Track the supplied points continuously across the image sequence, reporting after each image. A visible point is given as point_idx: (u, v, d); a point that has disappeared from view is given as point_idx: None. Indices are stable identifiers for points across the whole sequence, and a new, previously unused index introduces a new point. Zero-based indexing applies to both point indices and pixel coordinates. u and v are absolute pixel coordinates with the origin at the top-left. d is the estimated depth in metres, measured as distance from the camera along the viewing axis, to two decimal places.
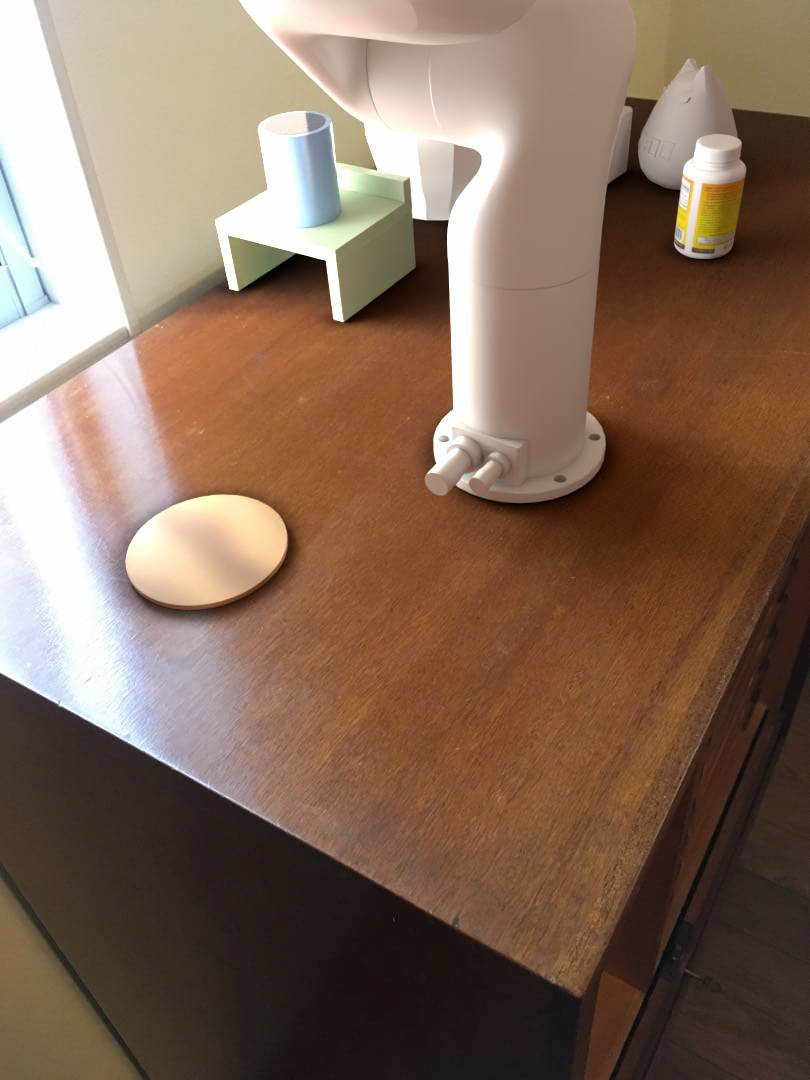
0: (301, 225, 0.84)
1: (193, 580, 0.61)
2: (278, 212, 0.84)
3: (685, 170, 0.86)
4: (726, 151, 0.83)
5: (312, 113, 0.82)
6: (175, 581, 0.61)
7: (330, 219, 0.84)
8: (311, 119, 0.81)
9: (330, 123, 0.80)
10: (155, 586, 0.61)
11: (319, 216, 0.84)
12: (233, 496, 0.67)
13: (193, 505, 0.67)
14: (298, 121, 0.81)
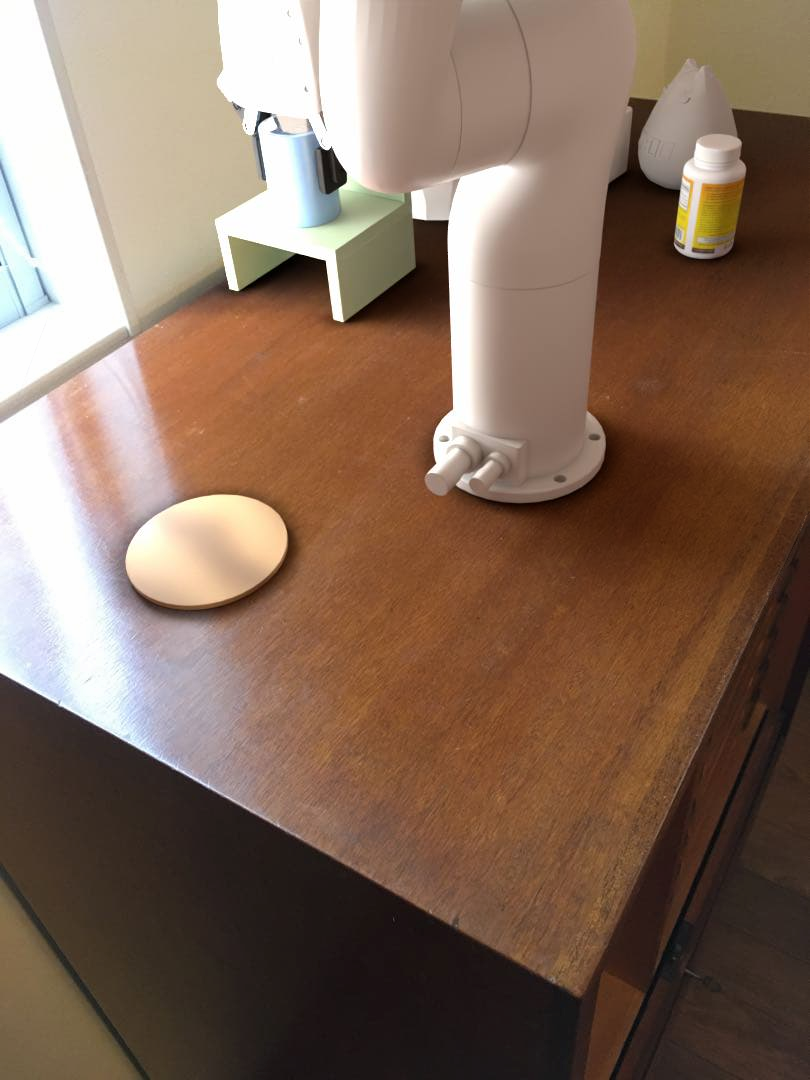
0: (301, 225, 0.84)
1: (193, 580, 0.61)
2: (278, 212, 0.84)
3: (685, 170, 0.86)
4: (726, 151, 0.83)
5: None
6: (175, 581, 0.61)
7: (330, 219, 0.84)
8: None
9: None
10: (155, 586, 0.61)
11: (319, 216, 0.84)
12: (233, 496, 0.67)
13: (193, 505, 0.67)
14: (298, 121, 0.81)
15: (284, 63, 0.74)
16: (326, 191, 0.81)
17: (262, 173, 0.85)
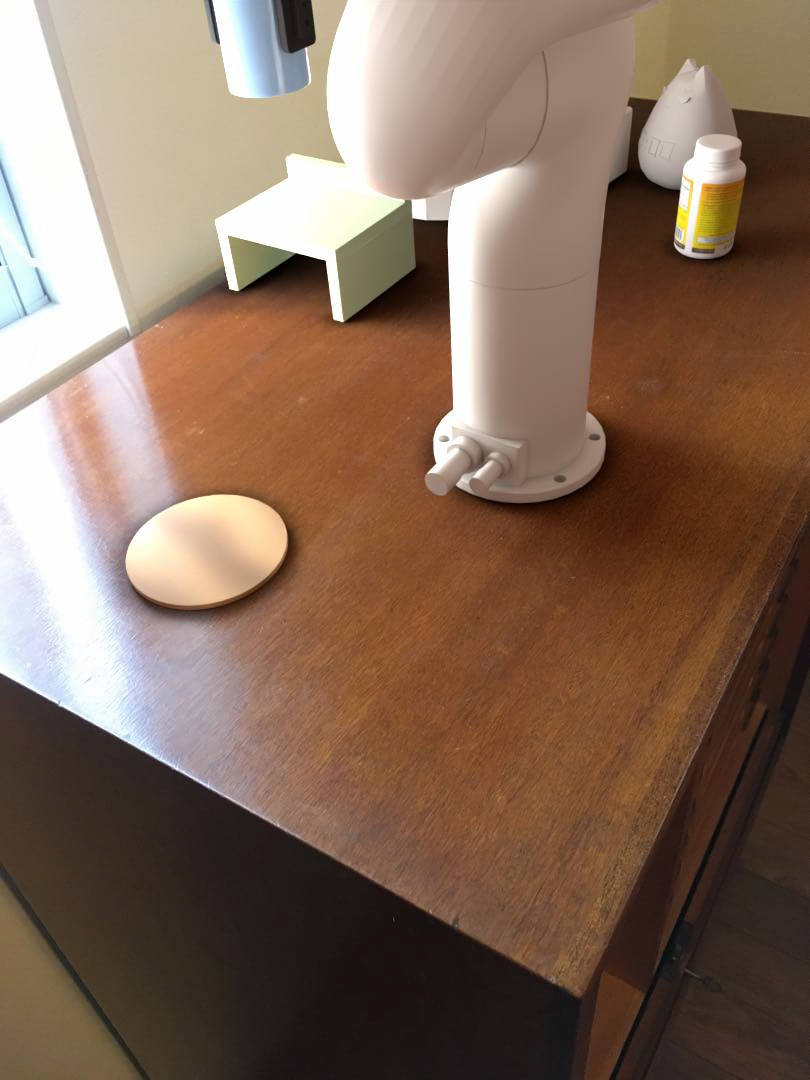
0: (261, 94, 0.70)
1: (193, 580, 0.61)
2: (233, 79, 0.70)
3: (685, 170, 0.86)
4: (726, 151, 0.83)
5: None
6: (175, 581, 0.61)
7: (296, 88, 0.71)
8: None
9: None
10: (155, 586, 0.61)
11: (283, 83, 0.70)
12: (233, 496, 0.67)
13: (193, 505, 0.67)
14: None
15: None
16: (289, 49, 0.68)
17: (215, 34, 0.71)
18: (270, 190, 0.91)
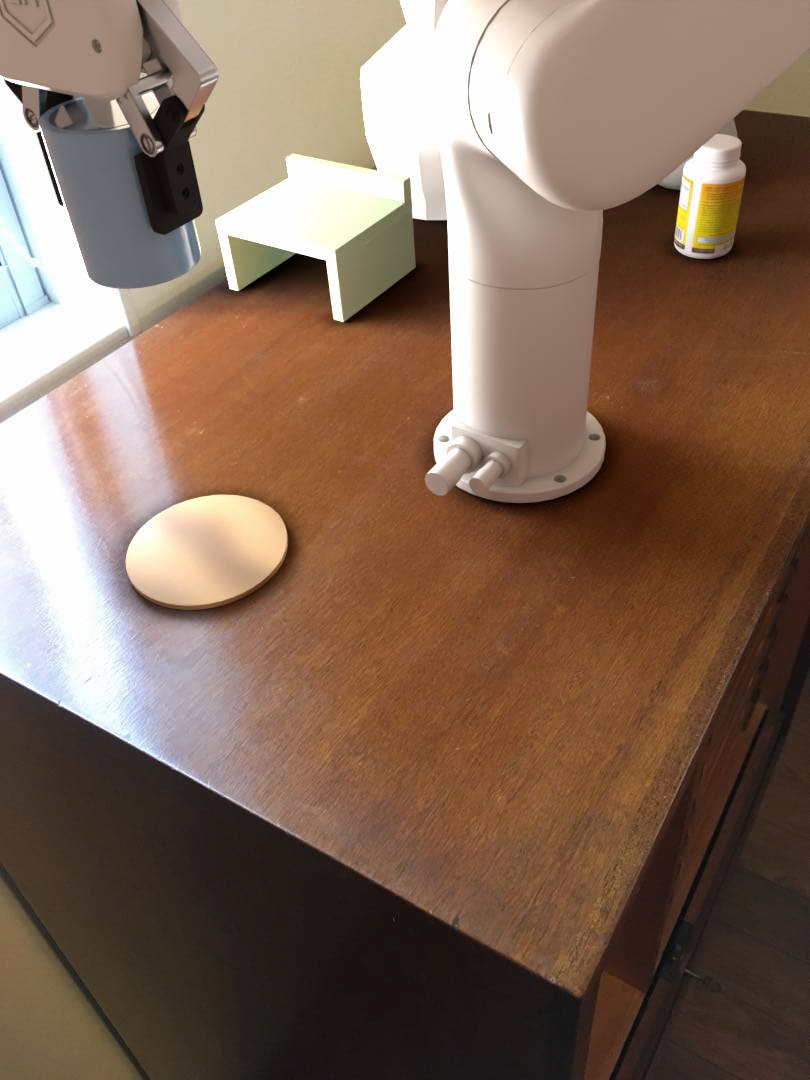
0: (125, 285, 0.49)
1: (193, 580, 0.61)
2: (86, 262, 0.49)
3: (685, 170, 0.86)
4: (726, 151, 0.83)
5: None
6: (175, 581, 0.61)
7: (176, 274, 0.50)
8: None
9: None
10: (155, 586, 0.61)
11: (155, 270, 0.49)
12: (233, 496, 0.67)
13: (193, 505, 0.67)
14: (111, 108, 0.47)
15: None
16: (161, 230, 0.47)
17: None
18: (270, 190, 0.91)
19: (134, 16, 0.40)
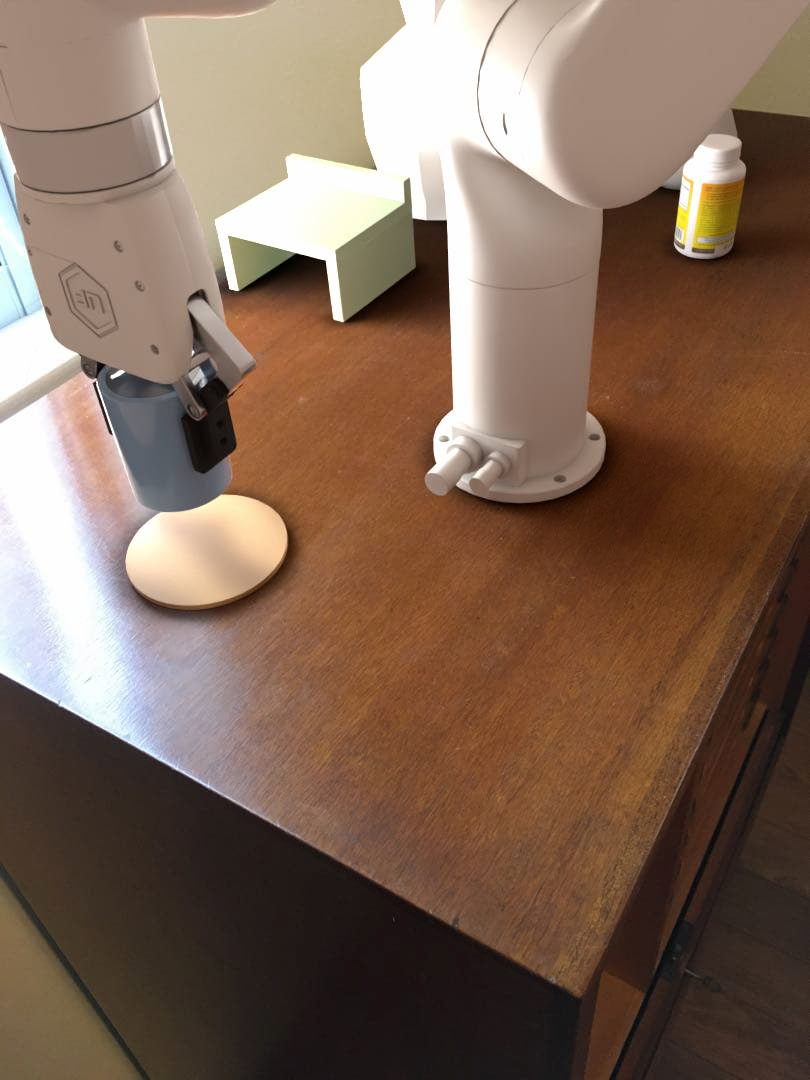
0: (168, 509, 0.57)
1: (193, 580, 0.61)
2: (134, 489, 0.57)
3: (685, 170, 0.86)
4: (726, 151, 0.83)
5: None
6: (175, 581, 0.61)
7: (213, 497, 0.57)
8: None
9: None
10: (155, 586, 0.61)
11: (195, 497, 0.56)
12: (233, 496, 0.67)
13: None
14: None
15: (118, 310, 0.47)
16: (202, 471, 0.54)
17: None
18: (270, 190, 0.91)
19: (186, 324, 0.48)
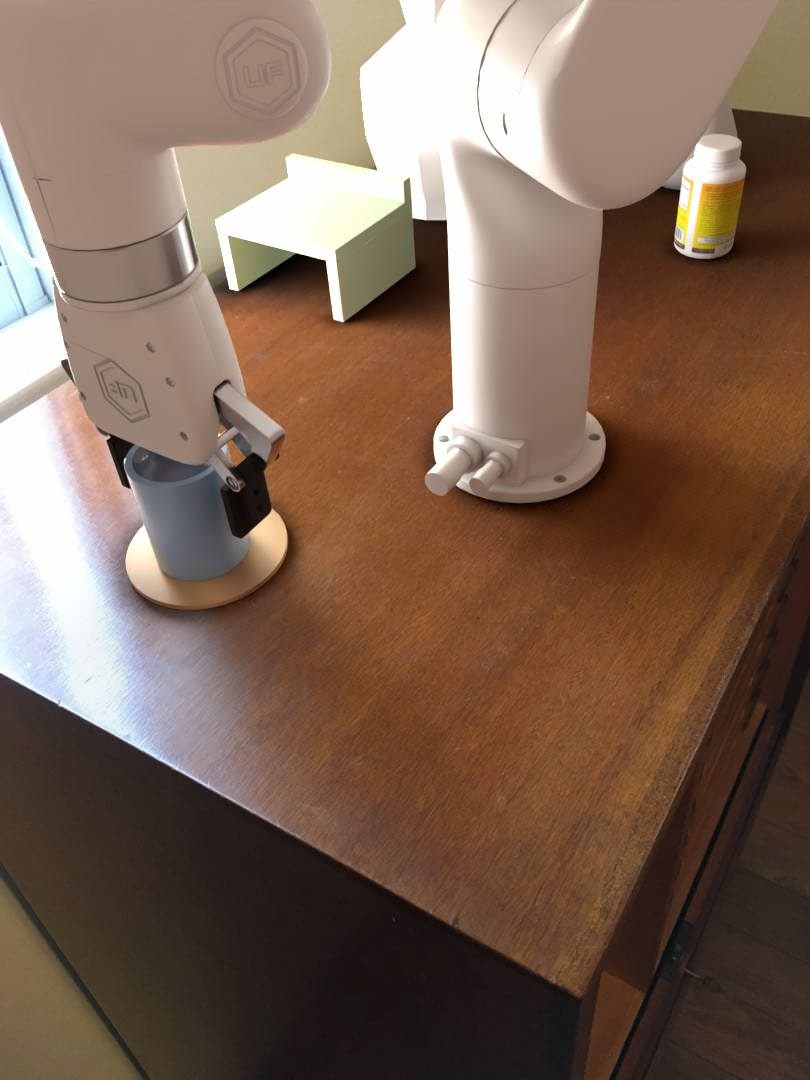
0: (190, 579, 0.61)
1: None
2: (159, 560, 0.61)
3: (685, 170, 0.86)
4: (726, 151, 0.83)
5: None
6: (175, 581, 0.61)
7: (231, 567, 0.61)
8: None
9: None
10: (155, 586, 0.61)
11: (215, 568, 0.61)
12: None
13: None
14: None
15: (150, 401, 0.51)
16: (239, 536, 0.57)
17: (126, 481, 0.61)
18: (270, 190, 0.91)
19: (213, 413, 0.51)
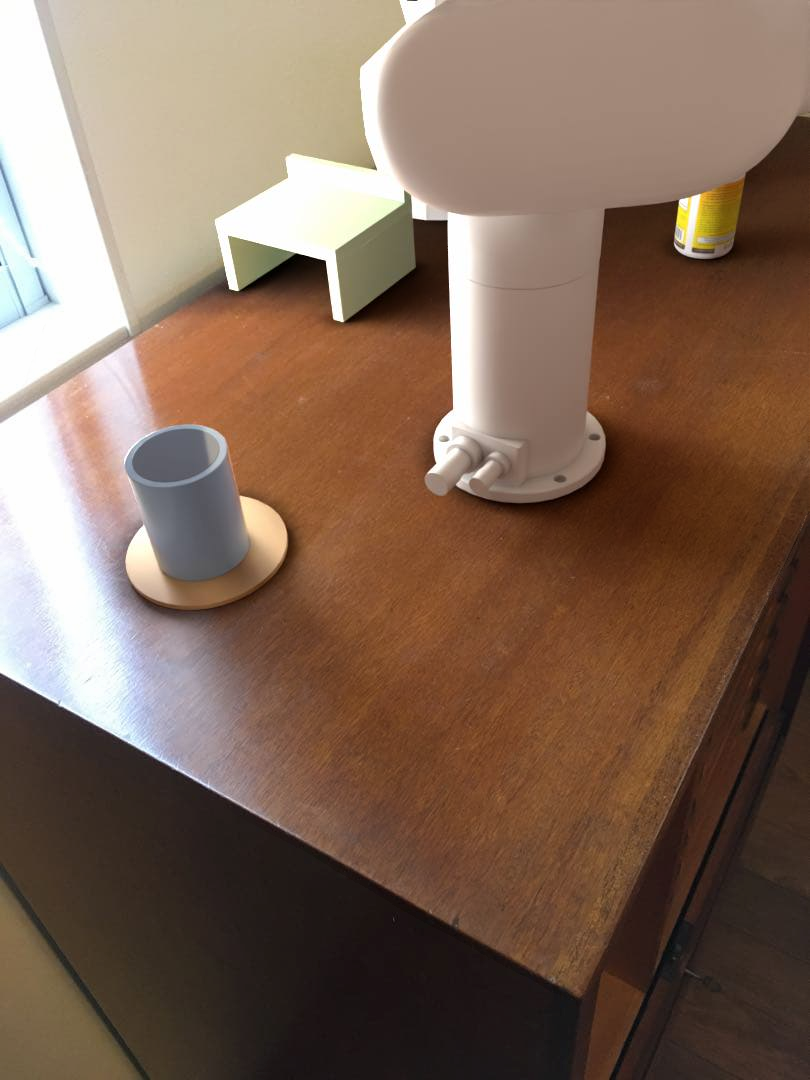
0: (190, 579, 0.61)
1: None
2: (159, 560, 0.61)
3: None
4: None
5: (203, 430, 0.59)
6: (175, 581, 0.61)
7: (231, 567, 0.61)
8: (200, 445, 0.58)
9: (225, 456, 0.57)
10: (155, 586, 0.61)
11: (215, 568, 0.61)
12: None
13: None
14: (182, 450, 0.58)
15: None
16: None
17: None
18: (270, 190, 0.91)
19: None
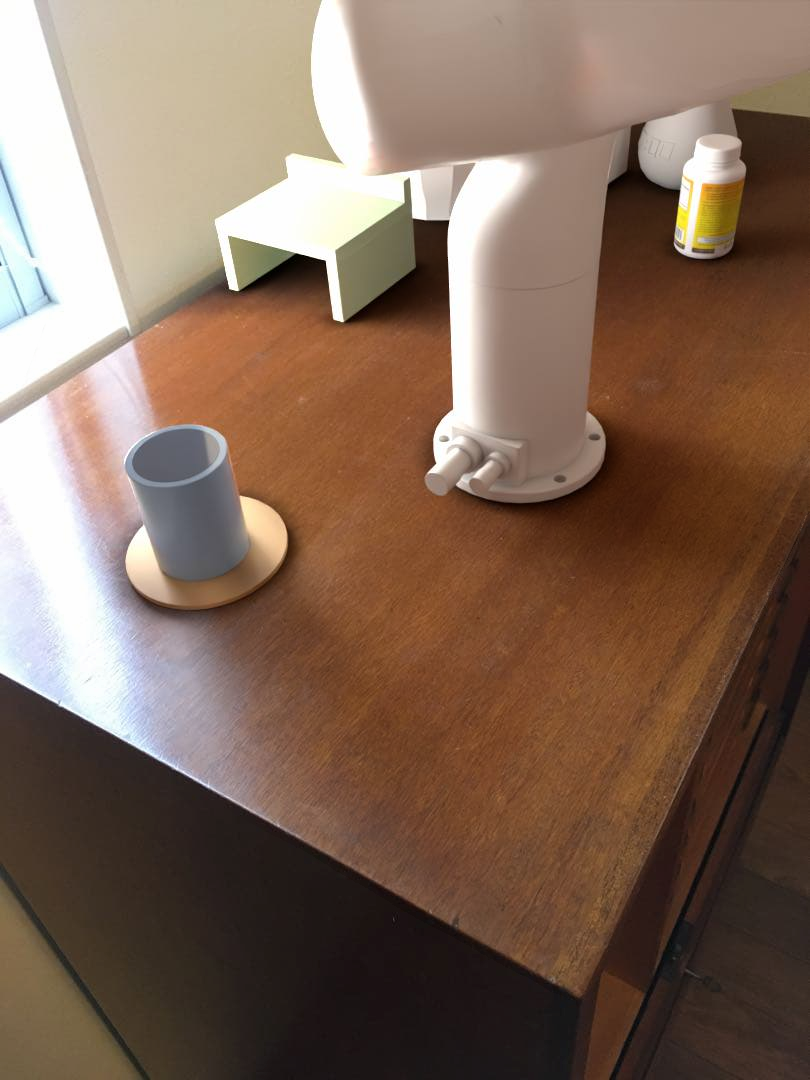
0: (190, 579, 0.61)
1: None
2: (159, 560, 0.61)
3: (685, 170, 0.86)
4: (726, 151, 0.83)
5: (203, 430, 0.59)
6: (175, 581, 0.61)
7: (231, 567, 0.61)
8: (200, 445, 0.58)
9: (225, 456, 0.57)
10: (155, 586, 0.61)
11: (215, 568, 0.61)
12: None
13: None
14: (182, 450, 0.58)
15: None
16: None
17: None
18: (270, 190, 0.91)
19: None
